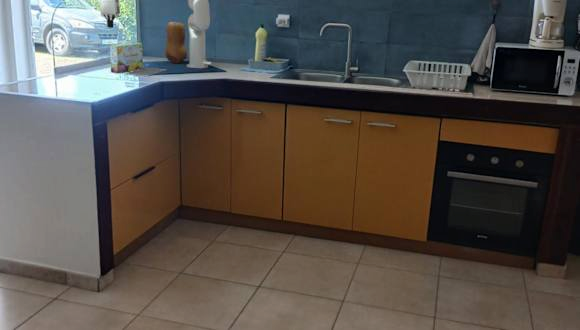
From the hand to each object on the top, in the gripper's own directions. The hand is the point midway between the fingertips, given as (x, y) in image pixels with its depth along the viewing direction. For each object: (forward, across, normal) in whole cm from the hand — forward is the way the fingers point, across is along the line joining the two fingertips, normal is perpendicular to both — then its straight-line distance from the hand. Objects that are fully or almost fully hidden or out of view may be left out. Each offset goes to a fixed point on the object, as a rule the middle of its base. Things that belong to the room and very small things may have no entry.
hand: (110, 27), depth 334 cm
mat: (+23, -21, 0) cm, 32 cm away
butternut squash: (+23, -20, -41) cm, 52 cm away
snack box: (+24, -10, 0) cm, 25 cm away
